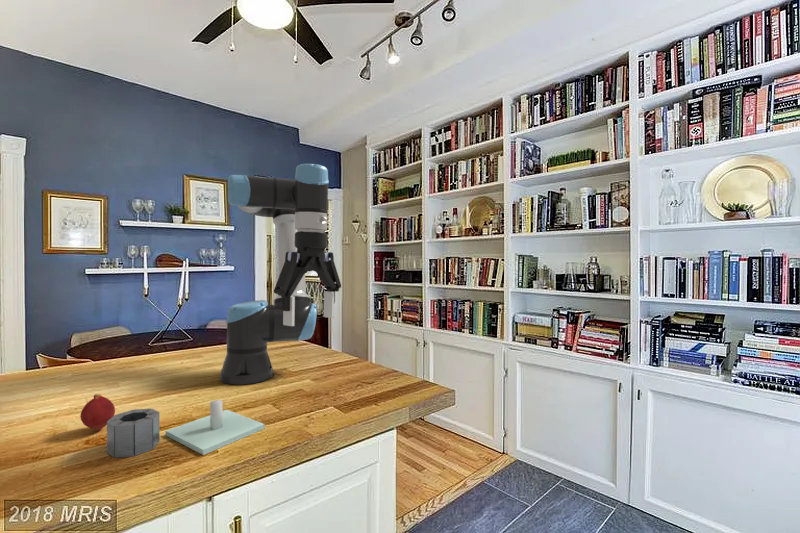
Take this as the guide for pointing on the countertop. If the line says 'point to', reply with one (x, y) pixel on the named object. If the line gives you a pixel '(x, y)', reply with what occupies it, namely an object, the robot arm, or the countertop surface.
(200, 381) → the countertop surface
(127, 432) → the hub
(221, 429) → the post block
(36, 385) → the countertop surface
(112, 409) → the onion
